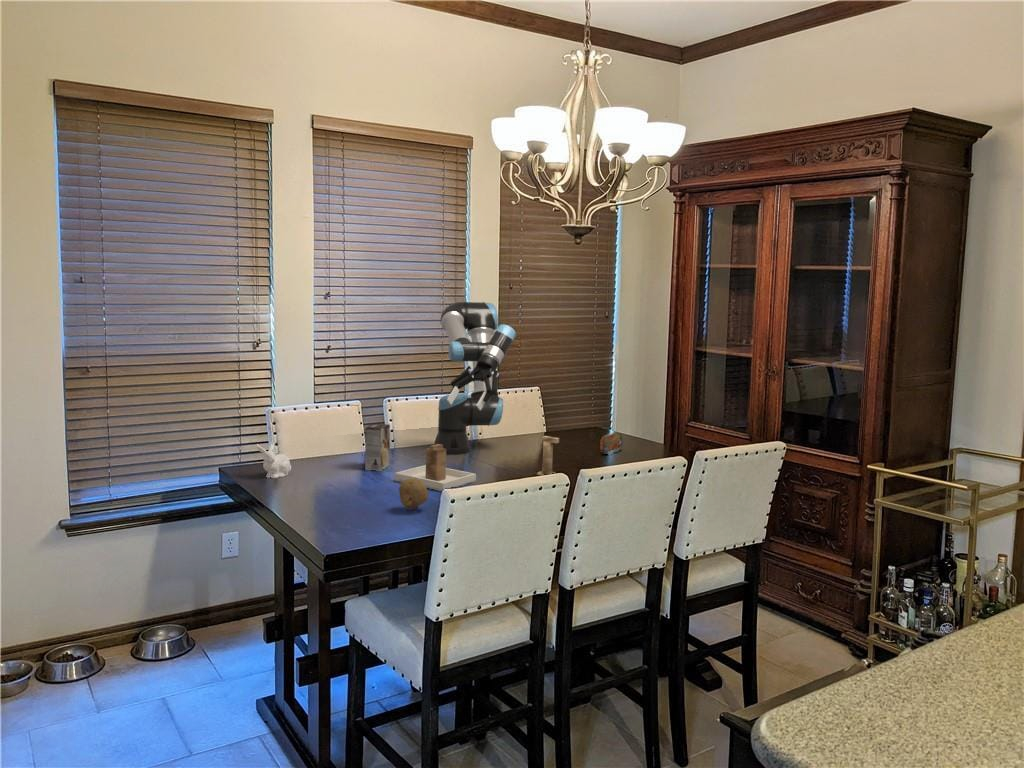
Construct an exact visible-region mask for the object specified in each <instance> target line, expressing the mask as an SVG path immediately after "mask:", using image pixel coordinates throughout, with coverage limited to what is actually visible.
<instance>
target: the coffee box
mask: <svg viewBox="0 0 1024 768" xmlns="http://www.w3.org/2000/svg"><path fill="white" fill-rule="evenodd" d="M390 428H391V427H390V424H386V423H385V424H384V423H373V424H371V425H368V426H366V427H365V432H364V433H365V437H364V439H365V442H364V443H365V449H364V450H365V455H364V458H365V461H364V462H365V464H364V469H365V471H371V470H376V471H375V472H382V471H384V470H385V469H387V468H388V467H390V443H391V442H390V434H391V433H390V431H391V429H390ZM386 467H387V468H386ZM383 469H384V470H383Z"/></svg>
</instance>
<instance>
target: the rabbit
mask: <svg viewBox="0 0 1024 768" xmlns="http://www.w3.org/2000/svg"><path fill="white" fill-rule="evenodd" d="M256 446H257V450H258V452H261V453H262V454H263V459H262V460H263V465H262V466H263V469H264V470H265V472H267V473H266V476H265V478H266V477H267V478H266V479H278V478H284V477H286V476H288V475H289V473H290V472H291V469H292V465H291V462H290V459H289V457H288V456H287V454H284V453H277V454H275V452H274V451H273V450H274V448H275V446H274V444H273V441H270V445H269V446H268V451H267V450H266V449H265V448H264V447H262V446H260V444H258V443H257V444H256ZM270 477H271V478H270Z"/></svg>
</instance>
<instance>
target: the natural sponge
mask: <svg viewBox="0 0 1024 768" xmlns="http://www.w3.org/2000/svg"><path fill="white" fill-rule="evenodd" d="M398 493H399V499H400V502H401V505H402V506H403V507H405V508H406V509H407V510H408V511H409V510H410V511H413V509H414V510H415V509H417V508H418V507H419V506H421V505H423V504H425V503H426V502H427V501H428V500H429V499H428V498H429V491H428V489H427V488H426V487H425V485H424V484H423V482H422V481H421V480H419V479H417V478H411V479H406V480H405V481H403V482H402V483H401V482H400V485H399V487H398Z"/></svg>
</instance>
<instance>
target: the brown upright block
mask: <svg viewBox="0 0 1024 768" xmlns="http://www.w3.org/2000/svg"><path fill="white" fill-rule="evenodd" d="M425 465H426V479H430V480H434V481H441V480H445V479H446V468H447V454H446V449H445V448H443V445H441V444H436V445H434V444H433V445H429V447H428V448H426V449H425Z"/></svg>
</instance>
